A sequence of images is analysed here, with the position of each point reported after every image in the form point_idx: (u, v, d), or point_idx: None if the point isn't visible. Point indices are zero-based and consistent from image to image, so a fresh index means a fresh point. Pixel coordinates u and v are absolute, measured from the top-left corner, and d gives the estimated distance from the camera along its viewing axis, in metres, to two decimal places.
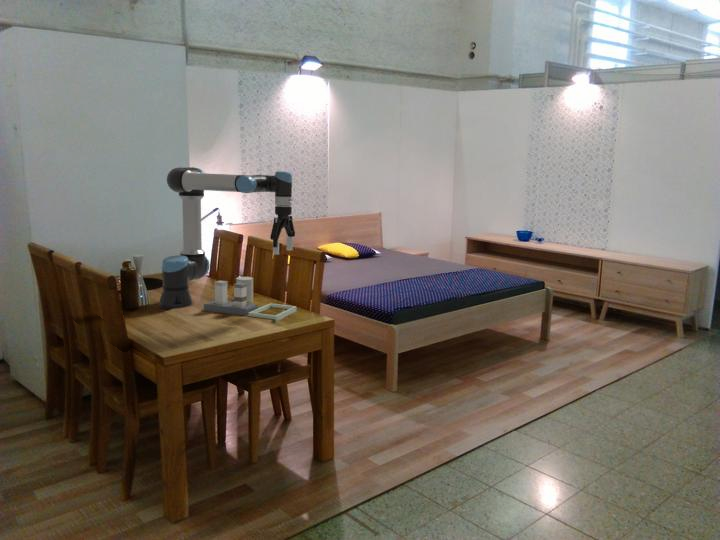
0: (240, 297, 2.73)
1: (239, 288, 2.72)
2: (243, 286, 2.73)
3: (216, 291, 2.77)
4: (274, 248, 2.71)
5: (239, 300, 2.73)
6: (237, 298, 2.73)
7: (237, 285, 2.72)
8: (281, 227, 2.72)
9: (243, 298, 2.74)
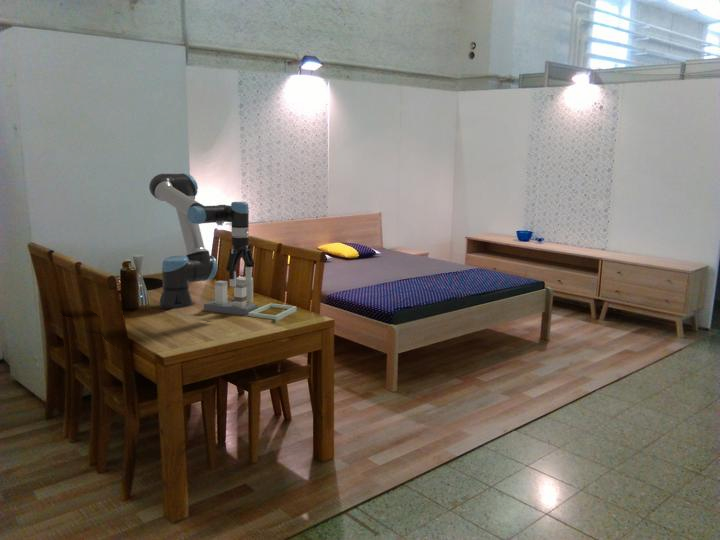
0: (240, 297, 2.73)
1: (239, 288, 2.72)
2: (243, 286, 2.73)
3: (216, 291, 2.77)
4: (231, 280, 2.67)
5: (239, 300, 2.73)
6: (237, 298, 2.73)
7: (237, 285, 2.72)
8: (238, 258, 2.68)
9: (243, 298, 2.74)
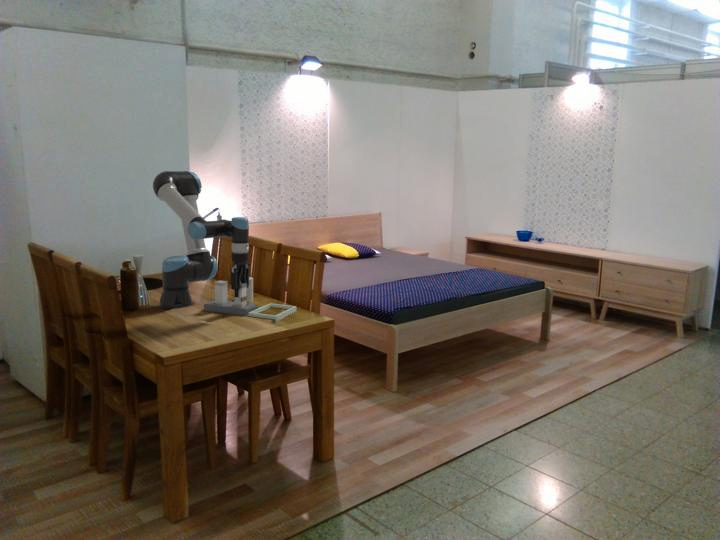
0: None
1: None
2: (243, 286, 2.73)
3: (216, 291, 2.77)
4: (236, 298, 2.73)
5: None
6: None
7: None
8: (239, 275, 2.71)
9: (243, 298, 2.74)
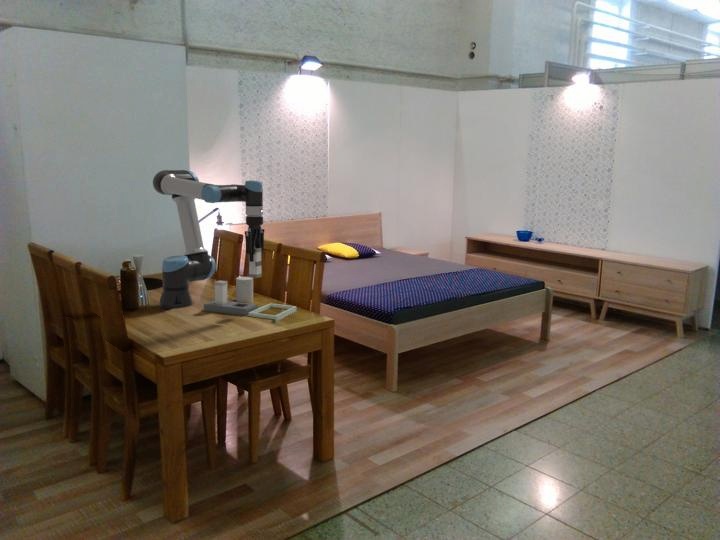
0: None
1: (254, 252, 2.69)
2: (258, 250, 2.70)
3: (216, 291, 2.77)
4: (250, 262, 2.69)
5: None
6: None
7: None
8: (254, 239, 2.68)
9: (258, 262, 2.71)
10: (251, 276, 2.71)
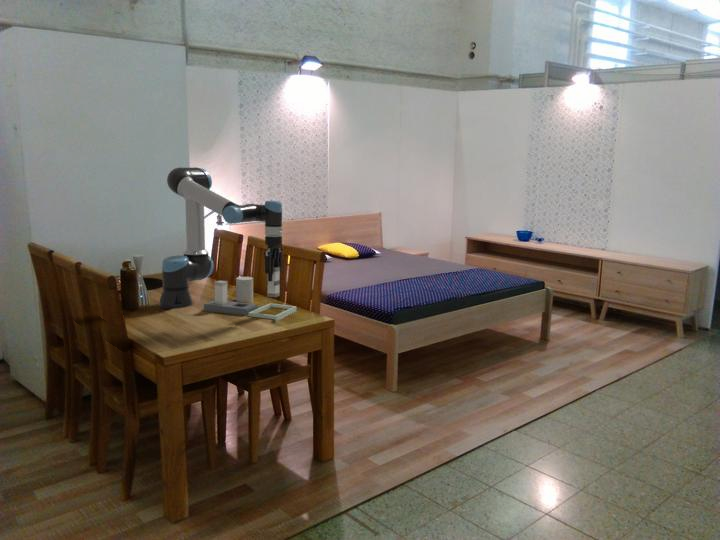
0: (274, 281, 2.72)
1: (273, 272, 2.71)
2: (276, 270, 2.72)
3: (216, 291, 2.77)
4: (269, 282, 2.72)
5: None
6: None
7: None
8: (273, 259, 2.70)
9: (277, 282, 2.73)
10: (269, 295, 2.73)
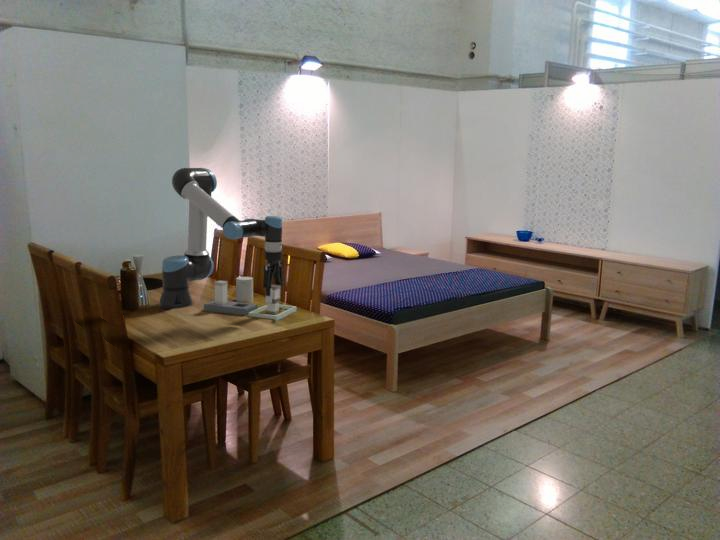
0: (273, 299, 2.73)
1: (272, 290, 2.72)
2: (276, 288, 2.73)
3: (216, 291, 2.77)
4: (267, 296, 2.71)
5: (272, 302, 2.73)
6: None
7: None
8: (272, 274, 2.70)
9: (276, 300, 2.74)
10: (269, 313, 2.75)
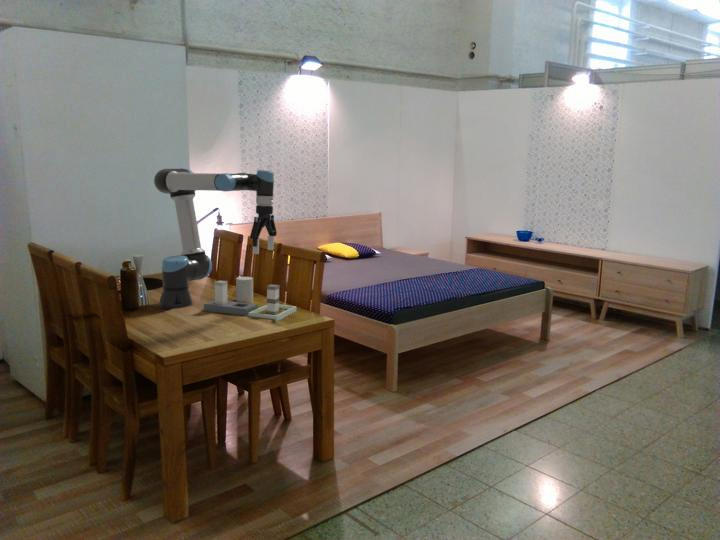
0: (273, 299, 2.73)
1: (272, 290, 2.72)
2: (276, 288, 2.73)
3: (216, 291, 2.77)
4: (254, 247, 2.70)
5: (272, 302, 2.73)
6: (270, 300, 2.74)
7: (270, 287, 2.73)
8: (261, 226, 2.71)
9: (276, 300, 2.74)
10: (269, 313, 2.75)
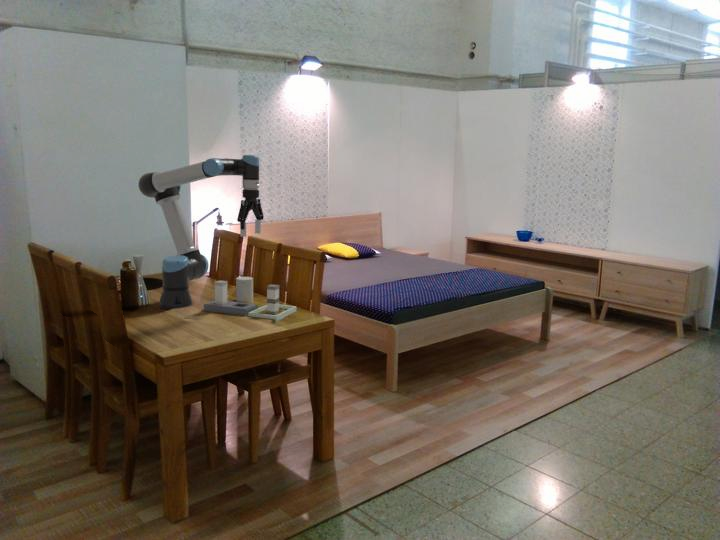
0: (273, 299, 2.73)
1: (272, 290, 2.72)
2: (276, 288, 2.73)
3: (216, 291, 2.77)
4: (241, 230, 2.76)
5: (272, 302, 2.73)
6: (270, 300, 2.74)
7: (270, 287, 2.73)
8: (248, 210, 2.77)
9: (276, 300, 2.74)
10: (269, 313, 2.75)
